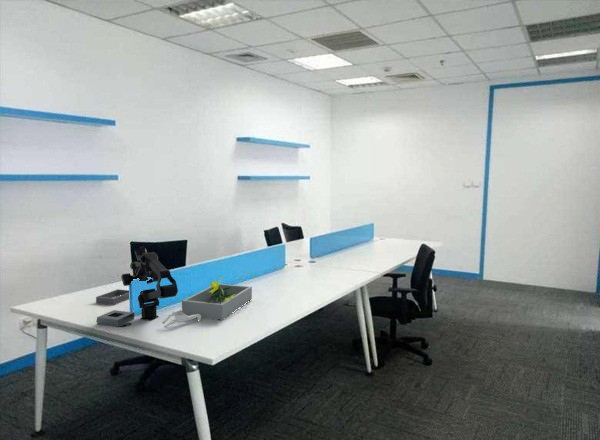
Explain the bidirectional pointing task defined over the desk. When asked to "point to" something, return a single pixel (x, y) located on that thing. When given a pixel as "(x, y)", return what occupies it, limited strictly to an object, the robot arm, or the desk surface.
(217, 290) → the daffodil flowers
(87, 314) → the desk surface
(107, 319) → the housing
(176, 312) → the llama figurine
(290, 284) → the desk surface
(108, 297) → the tray
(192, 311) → the planter
